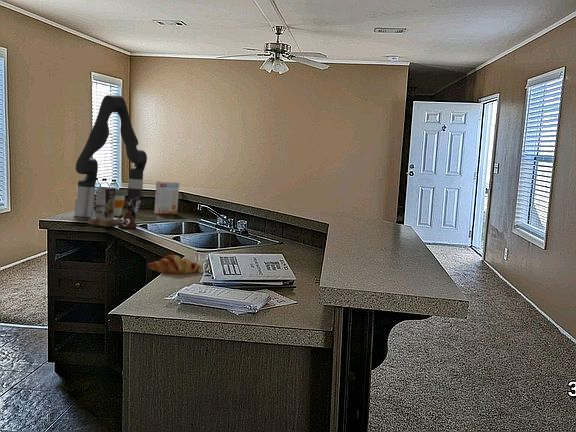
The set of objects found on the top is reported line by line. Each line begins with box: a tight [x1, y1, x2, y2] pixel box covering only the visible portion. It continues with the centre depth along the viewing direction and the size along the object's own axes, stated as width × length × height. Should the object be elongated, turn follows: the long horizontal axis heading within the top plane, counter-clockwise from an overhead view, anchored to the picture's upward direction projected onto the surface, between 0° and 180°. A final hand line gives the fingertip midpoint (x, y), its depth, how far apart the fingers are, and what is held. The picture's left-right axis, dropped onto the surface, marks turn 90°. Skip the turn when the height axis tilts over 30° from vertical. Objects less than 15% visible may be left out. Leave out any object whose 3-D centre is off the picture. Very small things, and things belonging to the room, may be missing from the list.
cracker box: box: [153, 180, 180, 215], centre depth 386 cm, size 14×6×21 cm, turn 133°
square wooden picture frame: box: [87, 216, 121, 228], centre depth 320 cm, size 12×12×3 cm
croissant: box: [147, 254, 204, 275], centre depth 226 cm, size 21×10×8 cm, turn 114°
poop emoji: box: [117, 210, 138, 230], centre depth 315 cm, size 10×8×9 cm
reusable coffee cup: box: [113, 188, 127, 217], centre depth 359 cm, size 13×12×15 cm
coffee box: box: [94, 187, 116, 219], centre depth 319 cm, size 9×6×16 cm
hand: (133, 219), depth 320 cm, fingers closed
